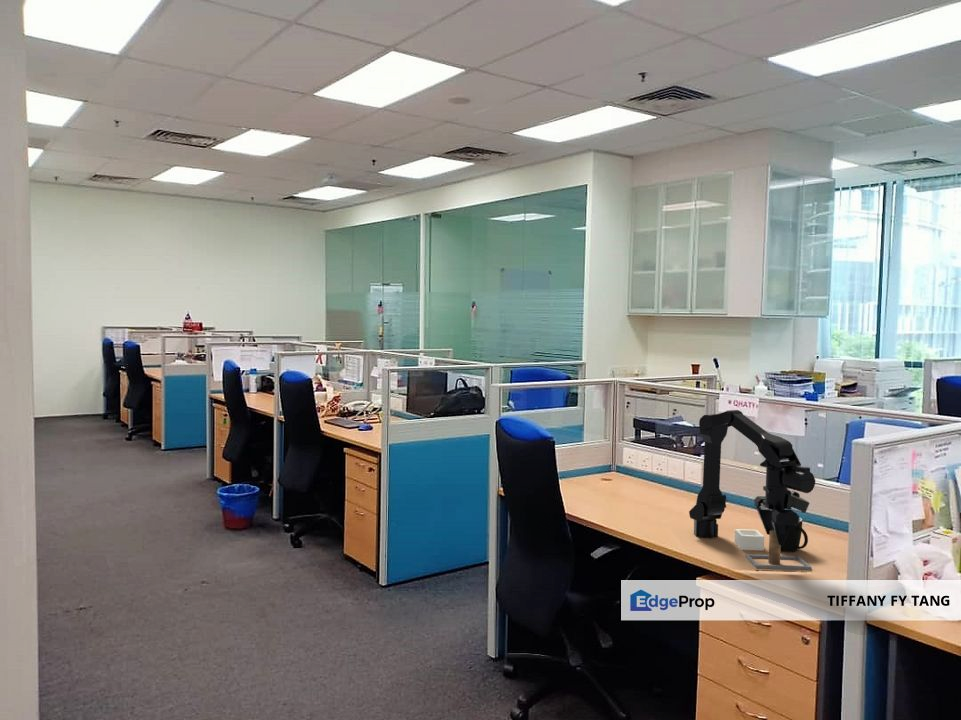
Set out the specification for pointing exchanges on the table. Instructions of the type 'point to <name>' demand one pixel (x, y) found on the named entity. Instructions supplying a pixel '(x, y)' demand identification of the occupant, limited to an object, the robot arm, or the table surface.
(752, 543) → the white open box
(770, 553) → the pin
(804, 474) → the robot arm
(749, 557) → the grey rectangular frame
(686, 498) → the table surface
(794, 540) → the mug
